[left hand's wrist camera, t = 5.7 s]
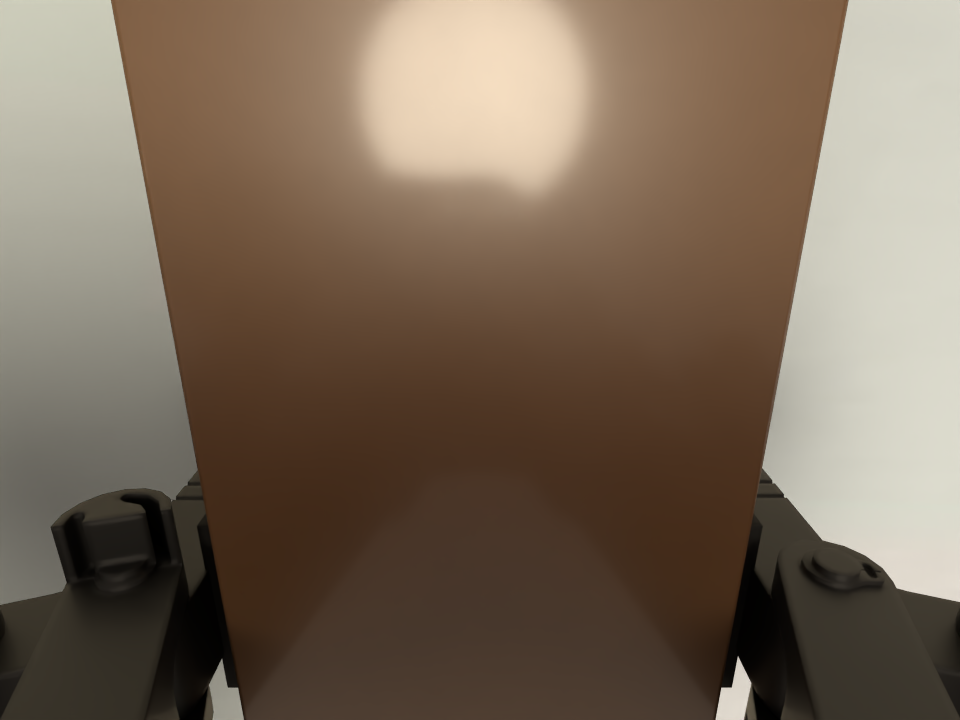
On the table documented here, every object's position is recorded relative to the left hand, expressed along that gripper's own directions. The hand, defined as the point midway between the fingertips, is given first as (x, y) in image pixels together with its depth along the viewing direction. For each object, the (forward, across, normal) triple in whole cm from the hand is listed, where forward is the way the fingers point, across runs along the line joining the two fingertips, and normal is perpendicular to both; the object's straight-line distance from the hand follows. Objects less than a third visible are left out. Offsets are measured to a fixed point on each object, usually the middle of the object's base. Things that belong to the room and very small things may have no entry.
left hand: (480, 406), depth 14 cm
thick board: (+1, 0, -21) cm, 21 cm away
